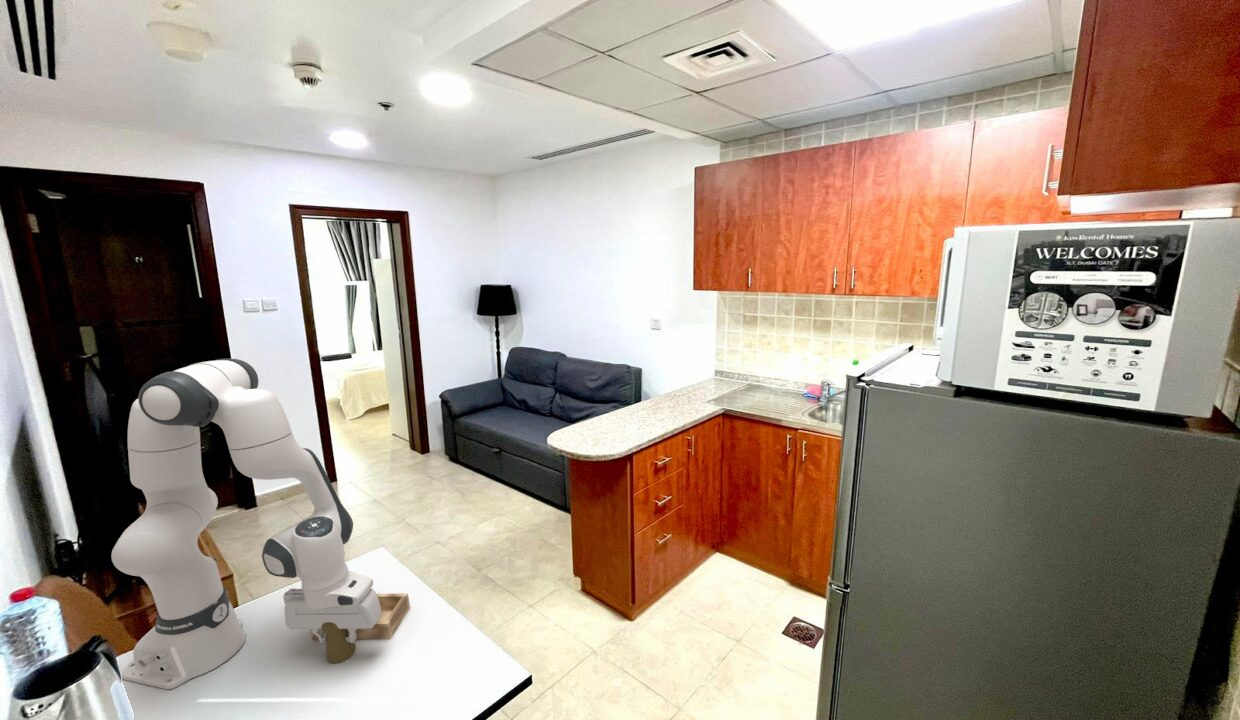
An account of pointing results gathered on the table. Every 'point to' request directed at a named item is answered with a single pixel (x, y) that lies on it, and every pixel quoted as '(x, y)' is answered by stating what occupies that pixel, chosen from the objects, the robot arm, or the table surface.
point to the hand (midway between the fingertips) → (338, 640)
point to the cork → (337, 643)
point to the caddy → (385, 617)
